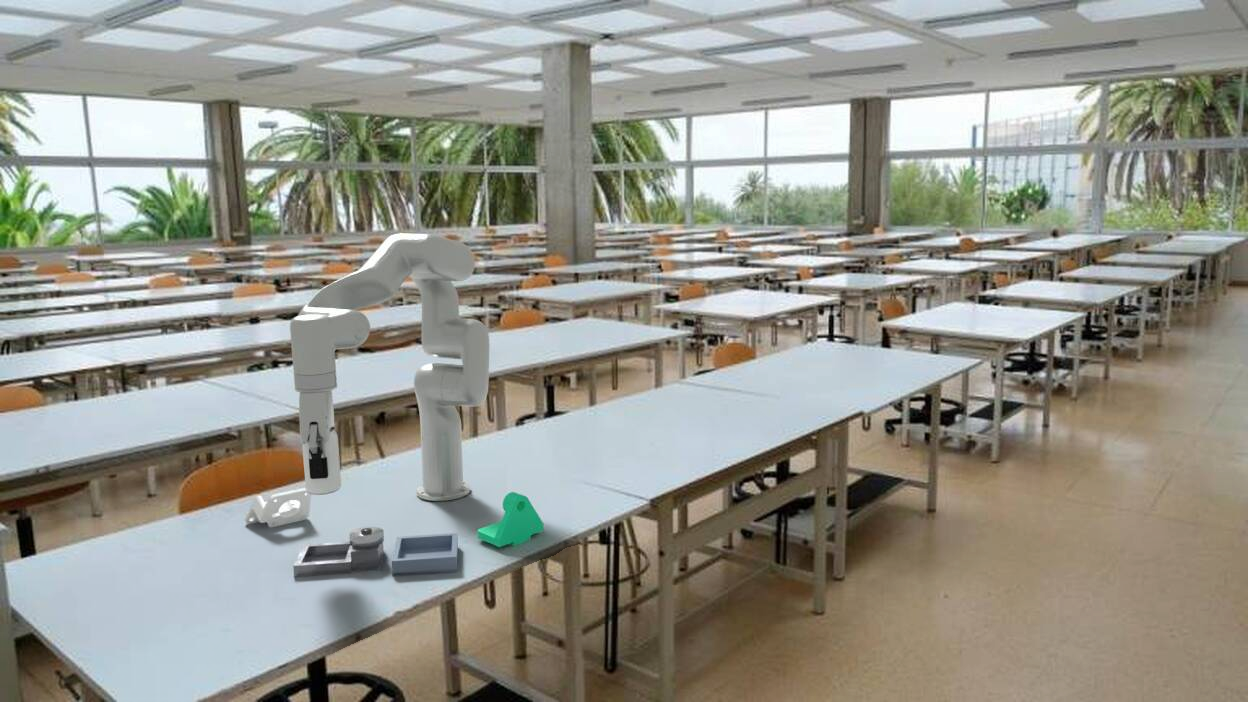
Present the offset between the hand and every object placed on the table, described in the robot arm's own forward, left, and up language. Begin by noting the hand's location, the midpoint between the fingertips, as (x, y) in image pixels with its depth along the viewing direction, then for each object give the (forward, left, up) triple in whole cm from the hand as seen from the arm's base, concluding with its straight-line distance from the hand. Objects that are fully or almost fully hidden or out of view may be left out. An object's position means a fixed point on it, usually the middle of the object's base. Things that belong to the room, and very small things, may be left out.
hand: (322, 471), depth 168 cm
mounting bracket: (-24, -14, -19) cm, 34 cm away
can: (0, 0, -4) cm, 4 cm away
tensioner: (0, +3, -19) cm, 19 cm away
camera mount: (-7, +35, -19) cm, 41 cm away
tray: (+2, +19, -19) cm, 27 cm away
